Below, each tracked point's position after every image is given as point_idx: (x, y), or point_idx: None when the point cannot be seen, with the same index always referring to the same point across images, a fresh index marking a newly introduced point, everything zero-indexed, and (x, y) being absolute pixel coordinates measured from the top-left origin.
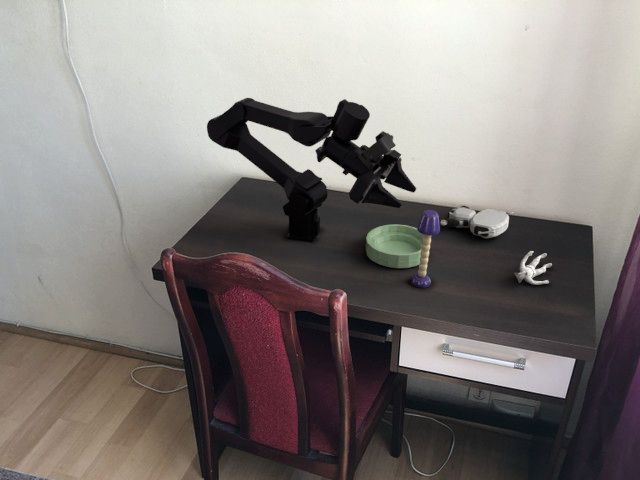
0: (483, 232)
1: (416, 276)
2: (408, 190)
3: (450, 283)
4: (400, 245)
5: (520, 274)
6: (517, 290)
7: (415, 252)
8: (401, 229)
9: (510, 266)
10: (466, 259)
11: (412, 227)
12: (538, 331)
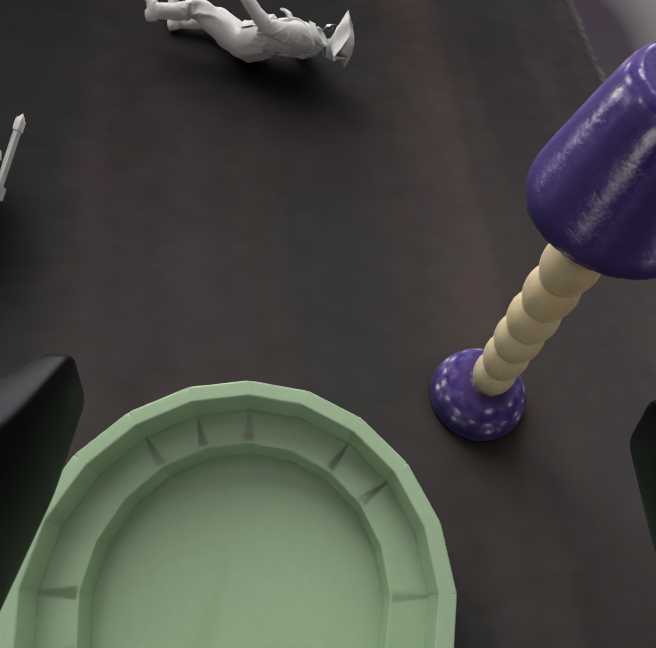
0: (4, 171)
1: (504, 403)
2: (56, 473)
3: (417, 282)
4: (153, 599)
5: (348, 35)
6: (358, 87)
7: (363, 434)
8: (28, 627)
9: (197, 112)
10: (190, 254)
11: None
12: (552, 36)
